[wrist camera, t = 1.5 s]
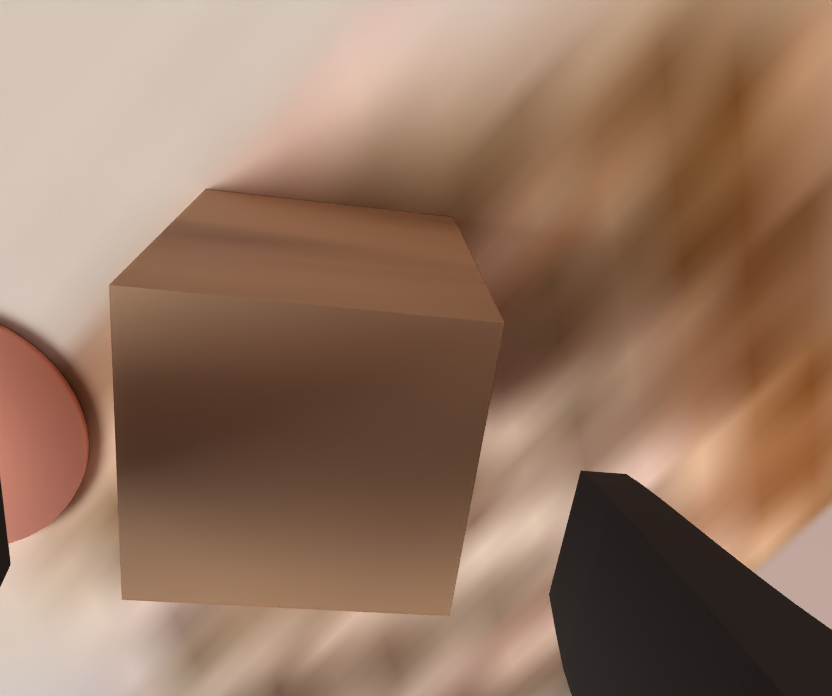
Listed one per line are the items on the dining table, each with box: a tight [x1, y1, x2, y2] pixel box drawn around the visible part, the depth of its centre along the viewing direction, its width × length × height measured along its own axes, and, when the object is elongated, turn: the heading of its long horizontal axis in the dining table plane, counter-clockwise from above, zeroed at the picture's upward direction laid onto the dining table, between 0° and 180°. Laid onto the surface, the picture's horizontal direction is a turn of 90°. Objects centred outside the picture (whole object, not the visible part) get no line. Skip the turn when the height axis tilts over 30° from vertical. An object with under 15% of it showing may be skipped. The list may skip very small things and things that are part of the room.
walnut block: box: [109, 189, 505, 616], centre depth 13 cm, size 5×5×6 cm
